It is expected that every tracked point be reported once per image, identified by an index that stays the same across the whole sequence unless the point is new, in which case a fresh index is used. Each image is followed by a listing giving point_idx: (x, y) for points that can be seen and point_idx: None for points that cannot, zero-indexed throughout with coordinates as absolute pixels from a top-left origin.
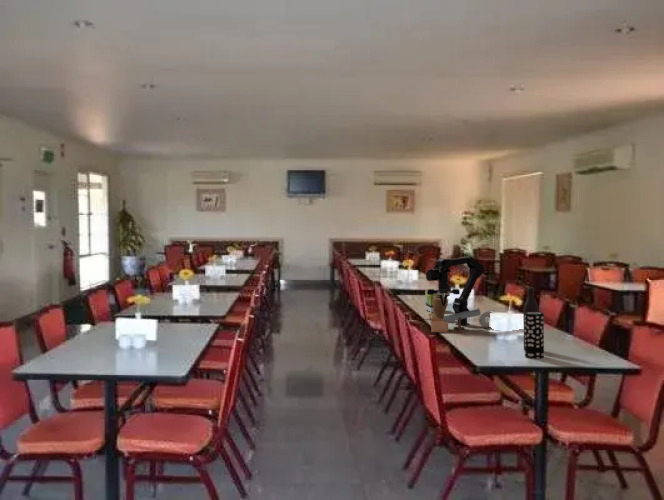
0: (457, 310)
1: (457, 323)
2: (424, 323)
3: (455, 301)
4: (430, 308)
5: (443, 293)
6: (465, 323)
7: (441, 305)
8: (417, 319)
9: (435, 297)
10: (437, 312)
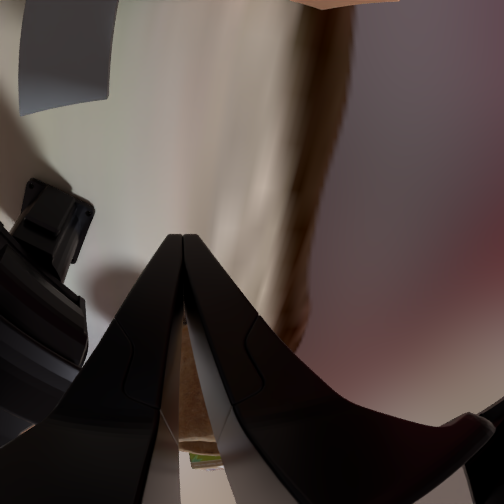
0: (30, 269)
1: (81, 225)
2: (301, 257)
3: (45, 387)
4: None
5: (192, 463)
6: (27, 206)
7: (199, 400)
8: (296, 341)
9: None
10: None
